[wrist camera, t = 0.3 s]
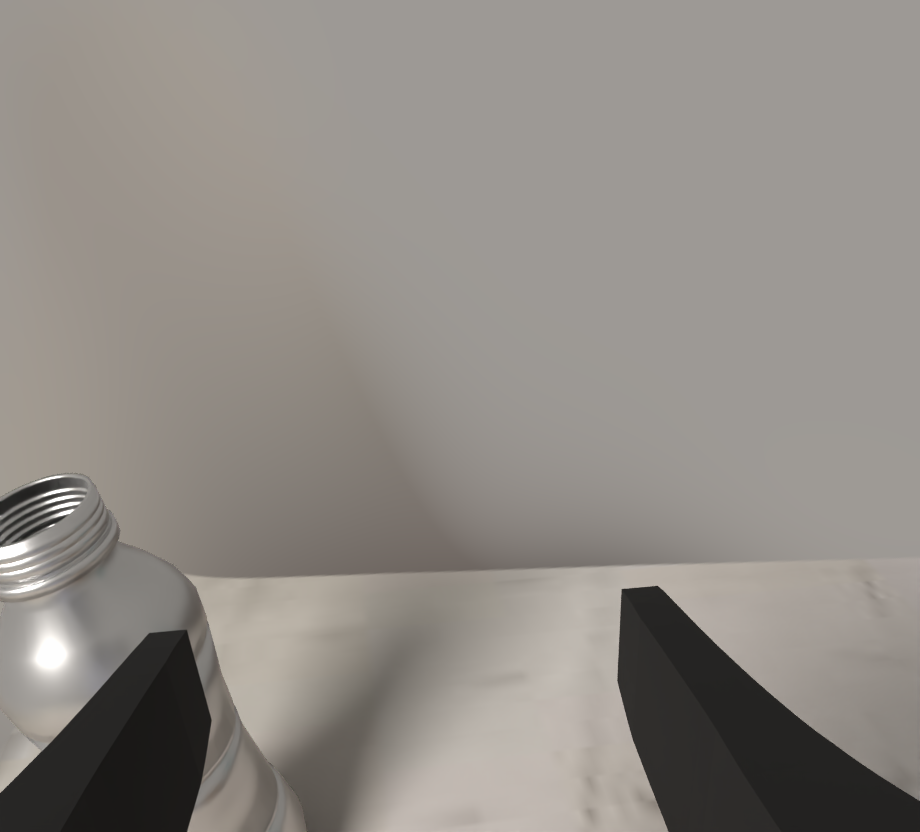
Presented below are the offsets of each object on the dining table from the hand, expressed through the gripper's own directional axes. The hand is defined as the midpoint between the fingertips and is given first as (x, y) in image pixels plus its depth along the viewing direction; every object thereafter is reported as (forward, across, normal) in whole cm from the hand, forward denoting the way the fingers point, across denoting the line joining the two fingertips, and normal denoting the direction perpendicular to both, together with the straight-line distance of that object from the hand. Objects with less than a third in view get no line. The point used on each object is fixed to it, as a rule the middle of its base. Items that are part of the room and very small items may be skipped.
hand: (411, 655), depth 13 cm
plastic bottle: (+11, +9, +22) cm, 26 cm away
